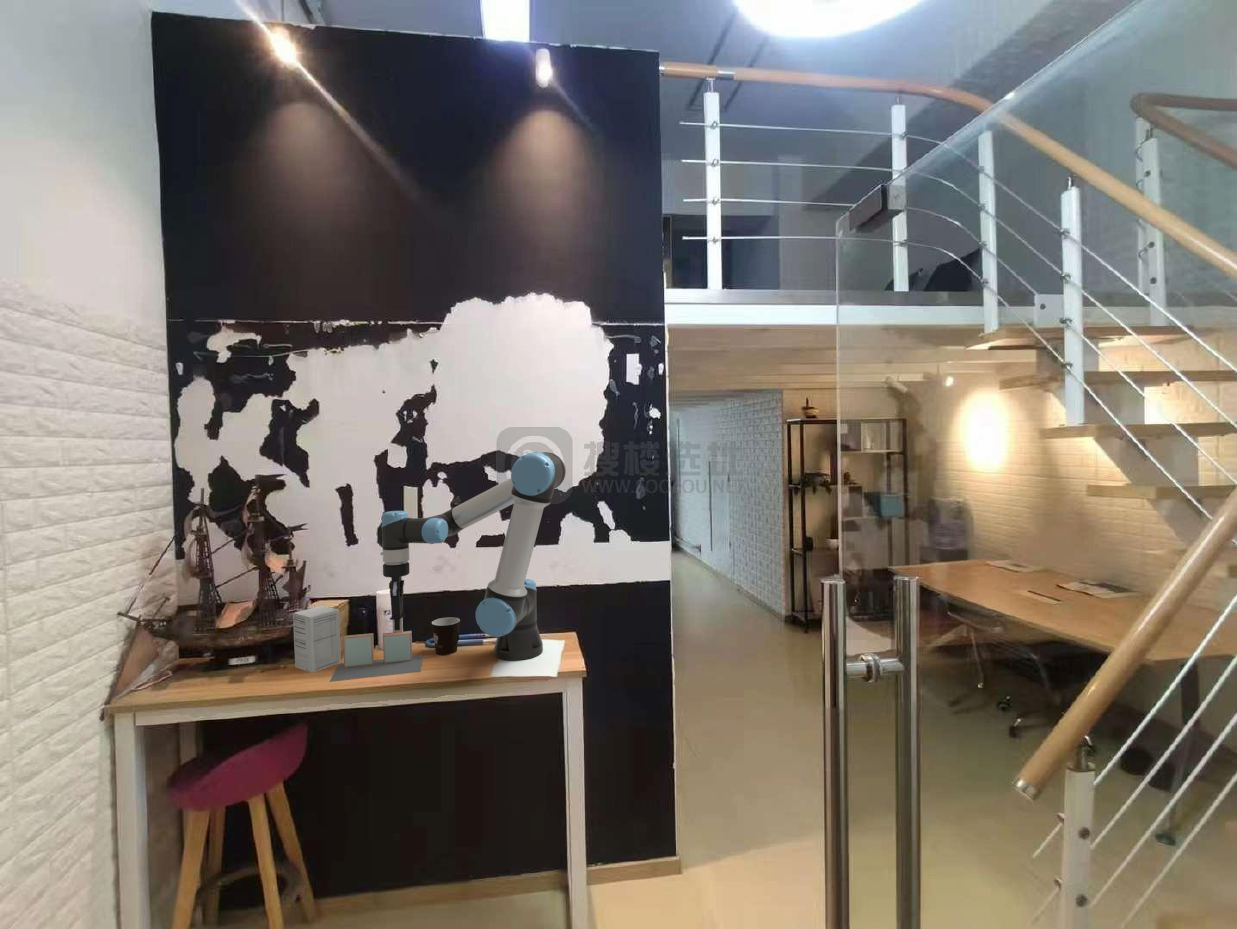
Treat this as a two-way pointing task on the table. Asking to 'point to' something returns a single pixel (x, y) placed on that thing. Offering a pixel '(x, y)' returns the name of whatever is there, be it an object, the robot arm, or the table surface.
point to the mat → (377, 669)
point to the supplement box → (316, 638)
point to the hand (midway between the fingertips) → (398, 639)
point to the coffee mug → (446, 635)
